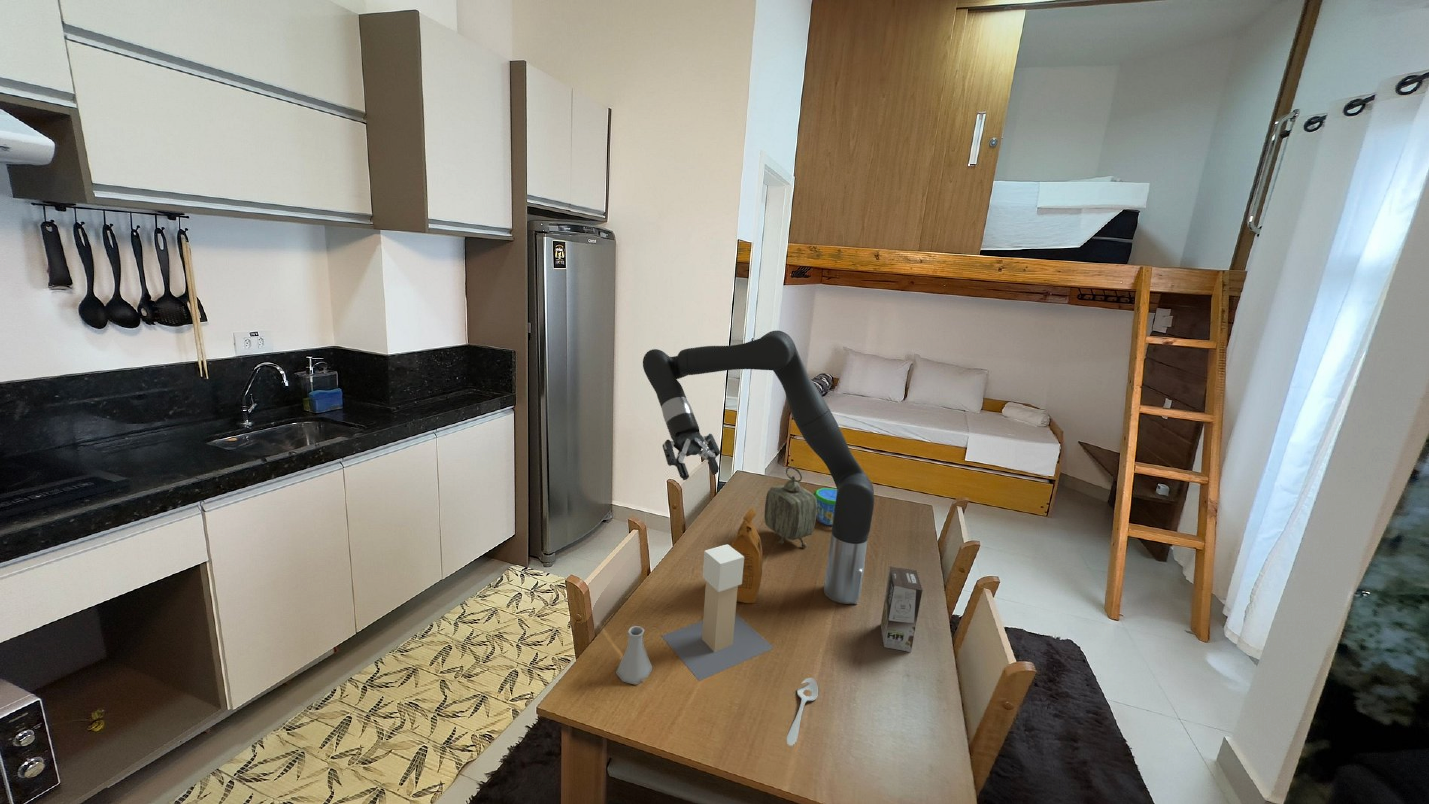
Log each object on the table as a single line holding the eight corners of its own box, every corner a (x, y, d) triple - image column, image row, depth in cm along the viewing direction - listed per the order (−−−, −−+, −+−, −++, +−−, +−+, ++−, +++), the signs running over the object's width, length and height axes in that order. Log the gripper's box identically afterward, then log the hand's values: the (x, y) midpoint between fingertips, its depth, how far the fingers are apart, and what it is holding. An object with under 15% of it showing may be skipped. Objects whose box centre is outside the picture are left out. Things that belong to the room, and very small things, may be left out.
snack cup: (855, 528, 186) (859, 501, 184) (830, 534, 181) (834, 505, 179) (825, 509, 199) (829, 483, 197) (802, 514, 194) (805, 487, 192)
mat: (731, 611, 137) (732, 609, 137) (773, 650, 125) (773, 648, 124) (661, 638, 126) (661, 635, 126) (699, 683, 113) (699, 680, 113)
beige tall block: (719, 632, 129) (724, 570, 125) (732, 644, 125) (738, 581, 121) (701, 639, 126) (706, 576, 122) (714, 652, 122) (719, 587, 118)
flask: (636, 690, 110) (638, 647, 108) (609, 674, 114) (610, 632, 112) (659, 669, 116) (661, 628, 114) (632, 655, 120) (634, 615, 118)
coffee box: (912, 653, 127) (923, 590, 123) (883, 647, 128) (893, 585, 124) (907, 628, 136) (917, 569, 132) (880, 623, 137) (889, 565, 133)
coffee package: (764, 583, 151) (771, 508, 145) (756, 609, 139) (764, 529, 134) (728, 576, 153) (734, 502, 147) (718, 601, 141) (724, 522, 136)
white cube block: (725, 570, 126) (727, 544, 124) (741, 584, 121) (744, 556, 119) (702, 577, 122) (704, 550, 120) (718, 591, 117) (720, 564, 116)
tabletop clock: (812, 549, 170) (821, 473, 164) (790, 556, 165) (798, 478, 159) (781, 529, 182) (789, 458, 176) (759, 535, 177) (766, 462, 171)
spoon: (820, 687, 115) (821, 680, 115) (796, 765, 97) (797, 758, 96) (801, 680, 117) (802, 673, 116) (773, 756, 98) (774, 749, 98)
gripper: (660, 414, 135) (682, 474, 129) (709, 408, 143) (732, 465, 137) (649, 428, 141) (670, 487, 134) (697, 422, 149) (718, 477, 142)
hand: (701, 476), depth 136 cm, fingers open, 8 cm apart
